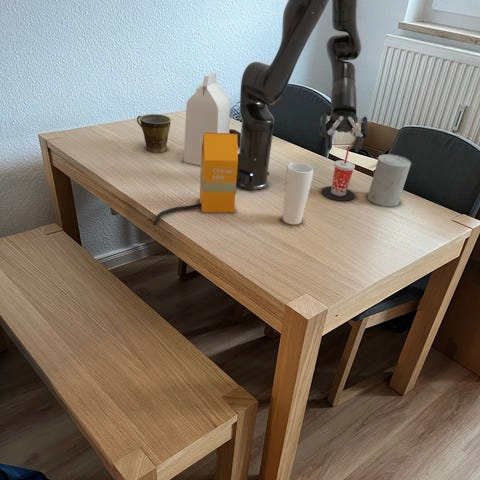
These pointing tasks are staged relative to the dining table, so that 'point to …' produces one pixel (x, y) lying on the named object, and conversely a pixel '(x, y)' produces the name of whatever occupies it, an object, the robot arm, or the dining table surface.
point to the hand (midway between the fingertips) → (343, 150)
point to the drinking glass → (296, 191)
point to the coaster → (328, 194)
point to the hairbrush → (237, 135)
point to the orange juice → (218, 172)
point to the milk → (205, 116)
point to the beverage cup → (342, 176)
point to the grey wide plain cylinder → (389, 180)
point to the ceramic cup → (155, 131)
